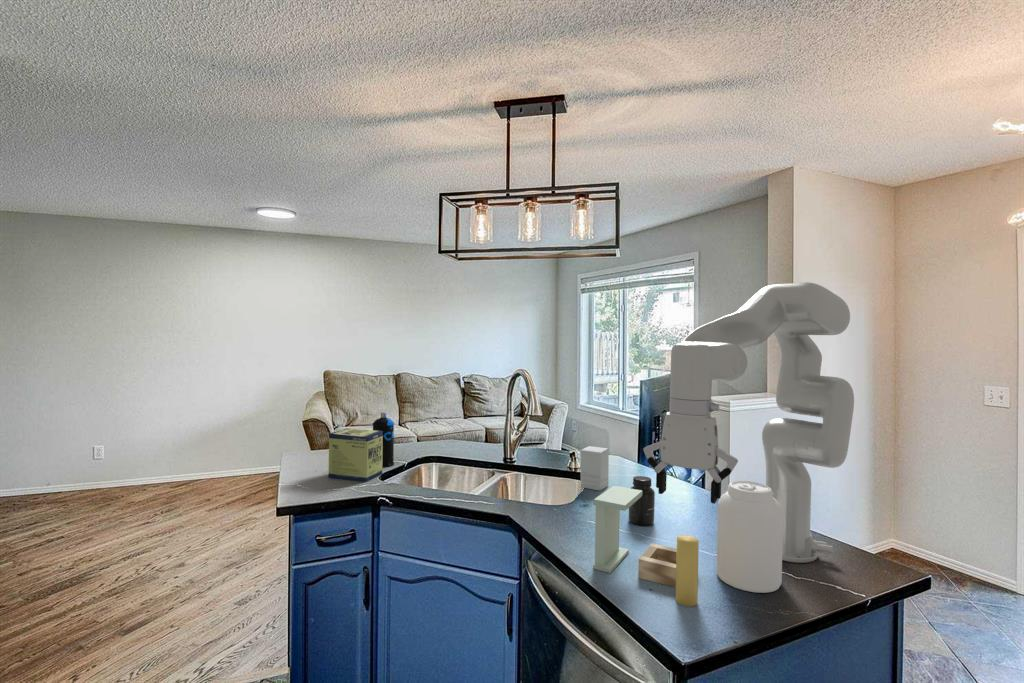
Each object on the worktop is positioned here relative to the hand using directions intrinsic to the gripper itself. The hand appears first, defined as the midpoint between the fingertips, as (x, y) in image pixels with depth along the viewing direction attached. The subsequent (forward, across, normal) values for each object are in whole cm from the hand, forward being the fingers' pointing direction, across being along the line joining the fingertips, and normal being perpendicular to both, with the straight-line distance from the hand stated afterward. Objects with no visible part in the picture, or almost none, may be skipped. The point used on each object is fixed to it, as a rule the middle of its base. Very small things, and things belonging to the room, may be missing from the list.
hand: (687, 496), depth 99 cm
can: (+20, -9, -17) cm, 28 cm away
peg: (+20, 0, -1) cm, 20 cm away
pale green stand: (+20, +17, -10) cm, 28 cm away
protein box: (+21, +118, -25) cm, 122 cm away
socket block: (+20, +6, -10) cm, 23 cm away
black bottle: (+21, +121, -41) cm, 129 cm away
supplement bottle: (+20, +20, -37) cm, 46 cm away
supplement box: (+20, +43, -60) cm, 76 cm away
